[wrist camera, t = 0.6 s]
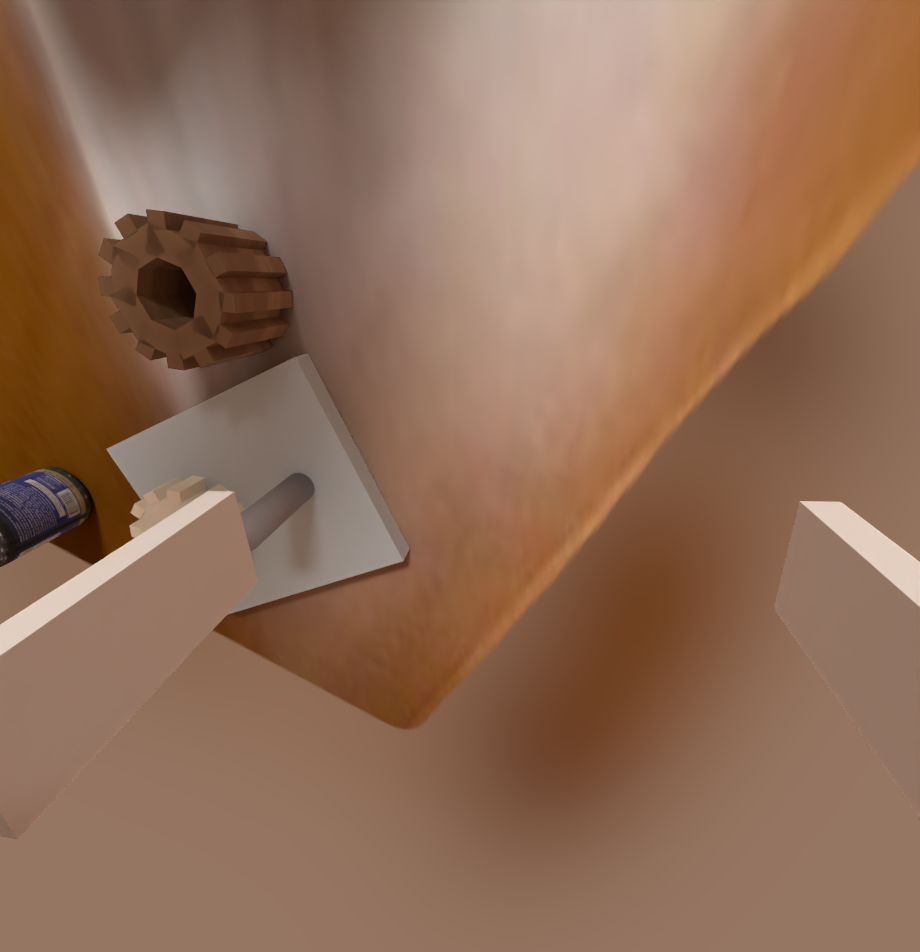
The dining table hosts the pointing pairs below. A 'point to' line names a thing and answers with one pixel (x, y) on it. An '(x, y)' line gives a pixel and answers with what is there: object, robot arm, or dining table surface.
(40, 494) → the pill bottle
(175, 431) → the gear board
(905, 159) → the dining table surface
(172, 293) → the walnut gear
